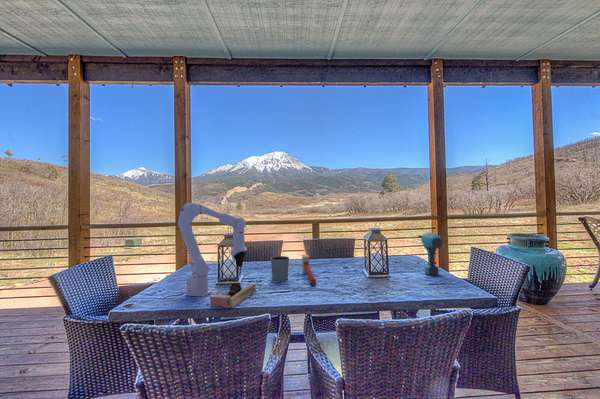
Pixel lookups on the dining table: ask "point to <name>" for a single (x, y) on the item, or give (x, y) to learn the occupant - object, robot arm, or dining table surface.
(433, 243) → the power drill
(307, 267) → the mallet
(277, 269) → the grey green pot
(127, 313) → the dining table surface
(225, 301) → the stop block
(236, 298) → the fence rail
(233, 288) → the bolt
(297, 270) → the dining table surface
